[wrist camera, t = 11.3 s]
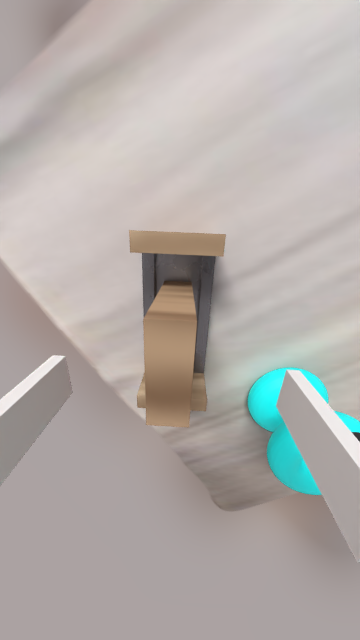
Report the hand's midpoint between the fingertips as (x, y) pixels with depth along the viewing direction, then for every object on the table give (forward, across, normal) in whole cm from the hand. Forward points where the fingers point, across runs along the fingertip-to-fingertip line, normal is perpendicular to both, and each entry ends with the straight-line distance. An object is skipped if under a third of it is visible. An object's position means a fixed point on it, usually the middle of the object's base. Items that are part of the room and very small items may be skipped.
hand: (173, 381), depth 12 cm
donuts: (+13, +14, -11) cm, 23 cm away
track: (+13, -1, 0) cm, 13 cm away
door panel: (+12, 0, 0) cm, 12 cm away
